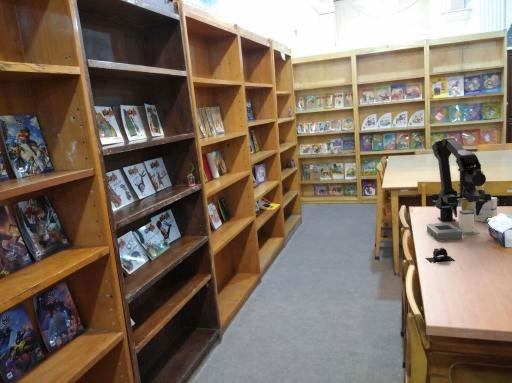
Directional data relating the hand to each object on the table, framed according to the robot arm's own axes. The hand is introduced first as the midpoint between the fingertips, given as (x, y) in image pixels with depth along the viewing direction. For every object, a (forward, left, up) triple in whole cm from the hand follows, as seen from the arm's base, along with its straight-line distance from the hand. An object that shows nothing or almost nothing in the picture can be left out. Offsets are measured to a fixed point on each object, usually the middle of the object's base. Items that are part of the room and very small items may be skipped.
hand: (466, 216), depth 180 cm
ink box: (-14, +15, -7) cm, 22 cm away
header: (+3, -11, -7) cm, 13 cm away
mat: (0, 0, -7) cm, 7 cm away
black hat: (+31, -23, -8) cm, 39 cm away
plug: (0, 0, -7) cm, 7 cm away
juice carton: (-26, +14, -7) cm, 31 cm away
